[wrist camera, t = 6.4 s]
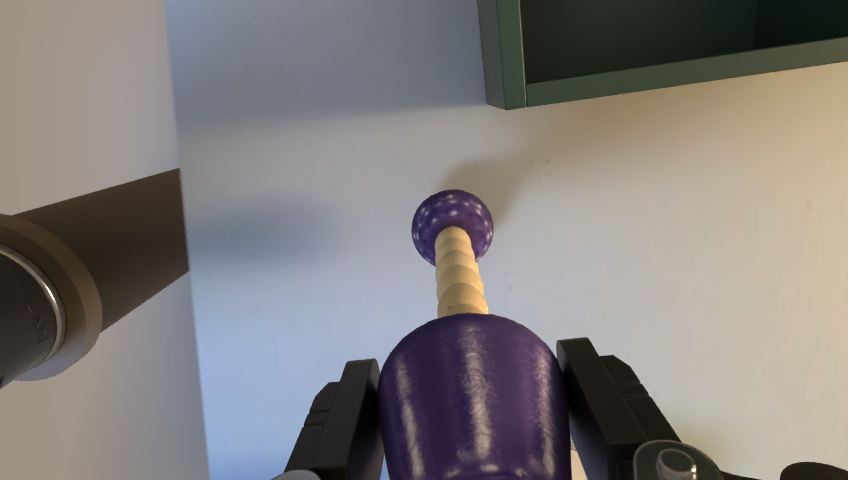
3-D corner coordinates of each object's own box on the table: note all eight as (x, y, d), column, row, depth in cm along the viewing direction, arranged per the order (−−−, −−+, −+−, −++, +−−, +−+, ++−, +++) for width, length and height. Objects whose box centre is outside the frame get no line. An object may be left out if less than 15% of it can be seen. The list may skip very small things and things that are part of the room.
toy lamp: (518, 223, 23) (687, 517, 7) (467, 291, 24) (514, 667, 8) (440, 173, 22) (435, 373, 6) (392, 246, 24) (291, 561, 8)
